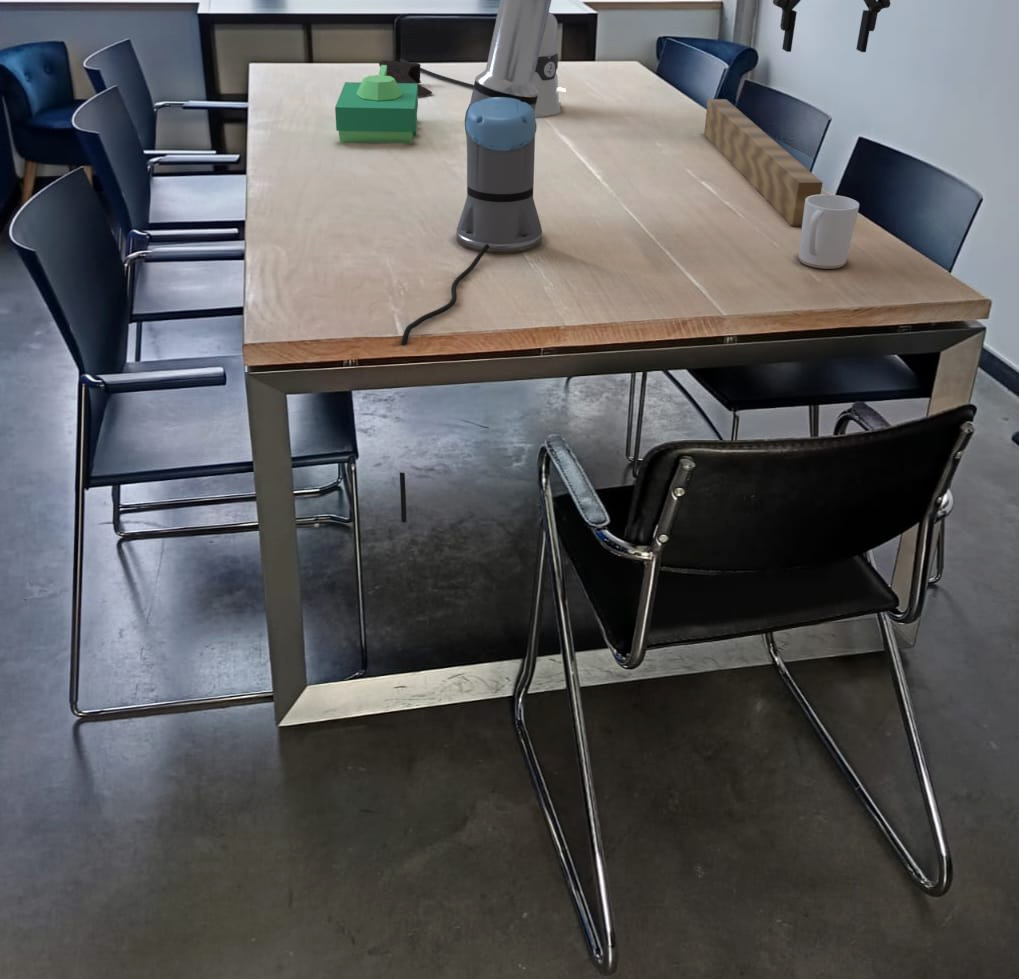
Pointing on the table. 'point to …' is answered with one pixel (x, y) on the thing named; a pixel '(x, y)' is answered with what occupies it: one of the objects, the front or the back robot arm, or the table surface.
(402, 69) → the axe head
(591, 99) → the table surface
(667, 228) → the table surface
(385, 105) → the green tank
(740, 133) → the beam
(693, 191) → the table surface
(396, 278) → the table surface
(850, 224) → the mug
